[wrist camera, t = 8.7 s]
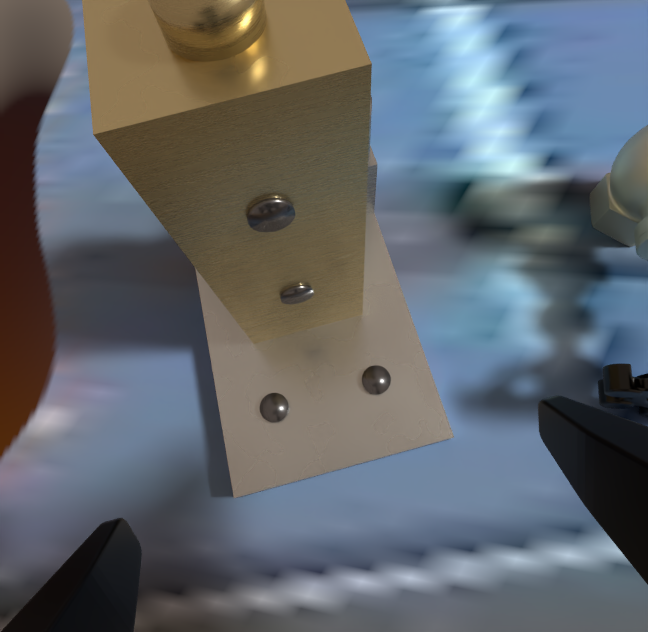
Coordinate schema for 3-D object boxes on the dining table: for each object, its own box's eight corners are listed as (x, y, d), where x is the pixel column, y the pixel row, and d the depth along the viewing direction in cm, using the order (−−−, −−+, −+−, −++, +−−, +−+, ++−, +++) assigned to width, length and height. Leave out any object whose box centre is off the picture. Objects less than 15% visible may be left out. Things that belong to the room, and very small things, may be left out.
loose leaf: (363, 317, 19) (376, 12, 7) (254, 347, 19) (56, 92, 7) (338, 239, 21) (311, -133, 8) (237, 266, 21) (49, -69, 8)
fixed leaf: (449, 439, 18) (507, 414, 11) (240, 497, 18) (165, 508, 11) (364, 199, 23) (367, 73, 16) (196, 242, 22) (123, 135, 15)
